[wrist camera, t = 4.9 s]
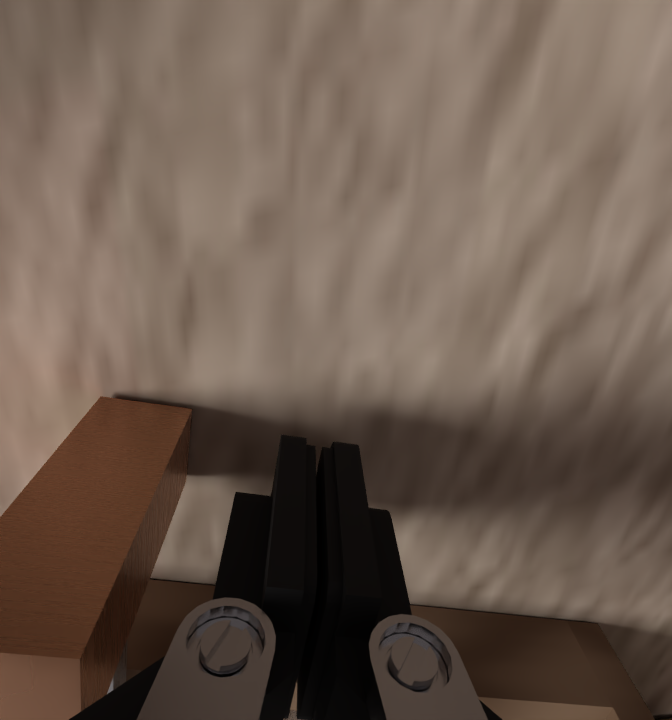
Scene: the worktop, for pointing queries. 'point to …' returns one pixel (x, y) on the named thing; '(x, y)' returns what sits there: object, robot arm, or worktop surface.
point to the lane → (477, 651)
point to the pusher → (85, 556)
